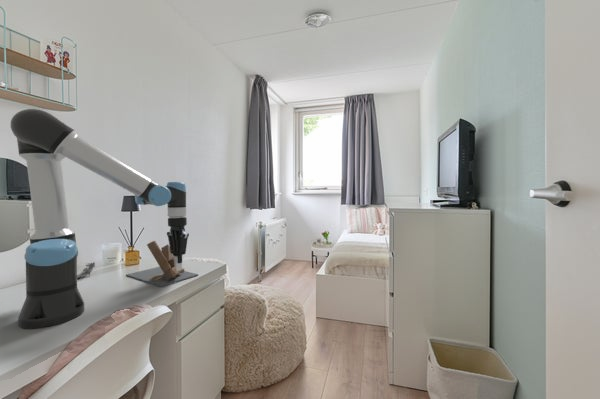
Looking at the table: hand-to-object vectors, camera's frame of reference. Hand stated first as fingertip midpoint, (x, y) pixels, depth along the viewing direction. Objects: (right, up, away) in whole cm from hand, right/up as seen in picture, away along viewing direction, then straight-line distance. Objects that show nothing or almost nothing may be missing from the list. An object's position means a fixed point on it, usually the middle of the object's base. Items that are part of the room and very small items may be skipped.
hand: (178, 270), depth 119 cm
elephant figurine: (-44, -5, +5) cm, 44 cm away
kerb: (-7, -4, +4) cm, 9 cm away
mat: (-10, -4, +6) cm, 13 cm away
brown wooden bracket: (-2, -3, +2) cm, 4 cm away
